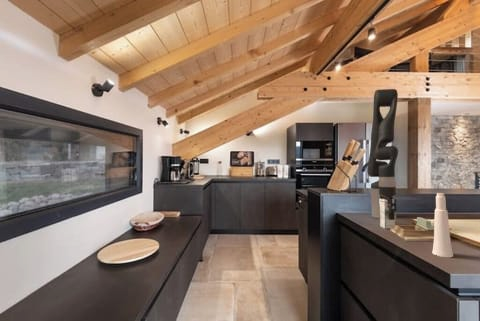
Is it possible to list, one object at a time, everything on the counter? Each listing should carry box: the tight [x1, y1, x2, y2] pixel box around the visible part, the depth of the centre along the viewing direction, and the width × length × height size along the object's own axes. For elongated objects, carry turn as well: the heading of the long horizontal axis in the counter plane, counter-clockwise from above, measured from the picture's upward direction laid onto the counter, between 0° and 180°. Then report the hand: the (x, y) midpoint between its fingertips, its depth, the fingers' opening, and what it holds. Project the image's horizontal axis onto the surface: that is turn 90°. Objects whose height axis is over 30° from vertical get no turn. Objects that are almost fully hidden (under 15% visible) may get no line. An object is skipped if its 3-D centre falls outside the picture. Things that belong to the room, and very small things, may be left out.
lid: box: [415, 216, 453, 231], centre depth 116 cm, size 10×10×4 cm
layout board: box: [389, 224, 452, 242], centre depth 117 cm, size 17×17×4 cm
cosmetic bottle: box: [431, 192, 454, 258], centre depth 94 cm, size 6×6×22 cm
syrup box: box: [379, 199, 397, 230], centre depth 132 cm, size 6×6×14 cm
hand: (388, 217), depth 132 cm, fingers open, 7 cm apart
